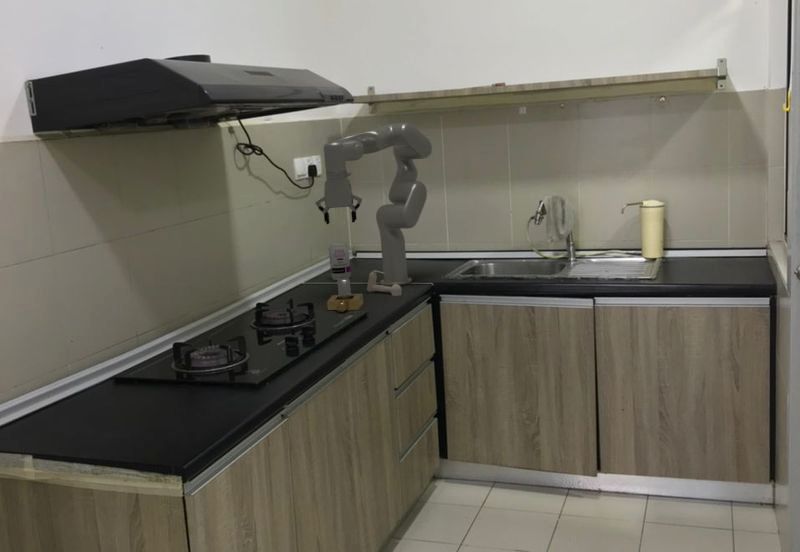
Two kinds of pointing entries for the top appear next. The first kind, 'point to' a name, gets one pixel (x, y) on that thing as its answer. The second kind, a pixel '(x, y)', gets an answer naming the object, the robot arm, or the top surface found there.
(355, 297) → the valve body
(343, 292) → the pipe stub
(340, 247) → the supplement can
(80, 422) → the top surface
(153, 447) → the top surface
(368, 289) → the faucet
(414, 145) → the robot arm
